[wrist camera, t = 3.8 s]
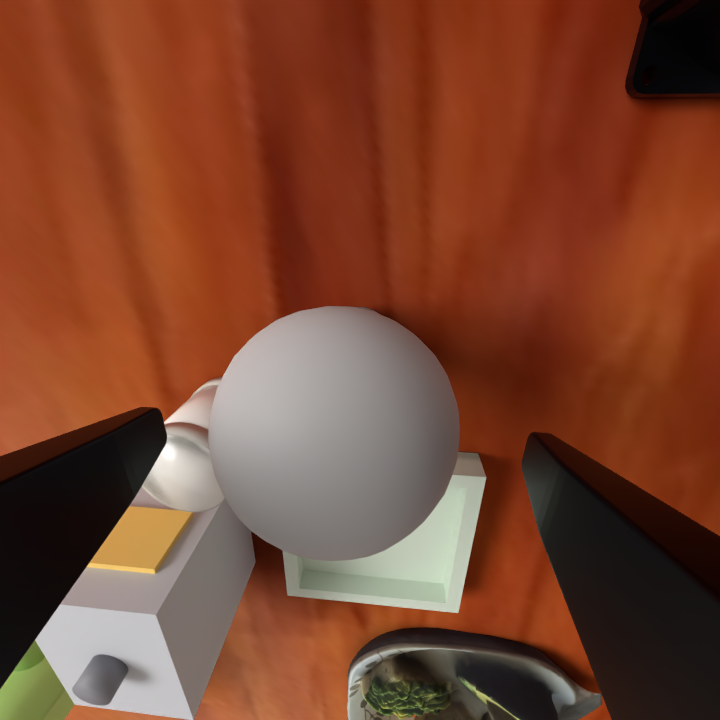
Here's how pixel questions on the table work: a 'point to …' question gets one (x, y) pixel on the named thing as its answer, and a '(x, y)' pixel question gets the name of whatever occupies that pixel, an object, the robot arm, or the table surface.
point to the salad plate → (460, 680)
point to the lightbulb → (334, 433)
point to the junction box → (151, 610)
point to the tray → (406, 556)
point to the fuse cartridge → (187, 457)
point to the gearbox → (34, 691)
